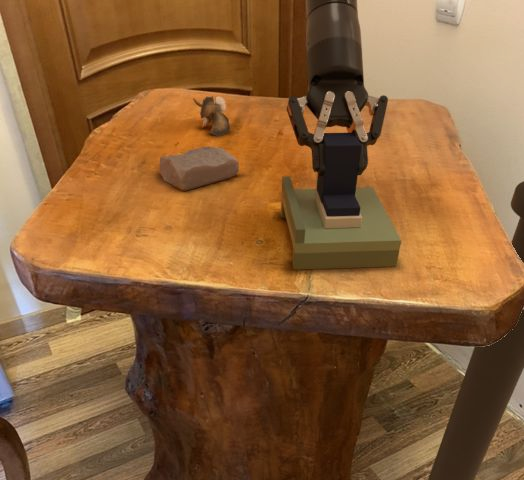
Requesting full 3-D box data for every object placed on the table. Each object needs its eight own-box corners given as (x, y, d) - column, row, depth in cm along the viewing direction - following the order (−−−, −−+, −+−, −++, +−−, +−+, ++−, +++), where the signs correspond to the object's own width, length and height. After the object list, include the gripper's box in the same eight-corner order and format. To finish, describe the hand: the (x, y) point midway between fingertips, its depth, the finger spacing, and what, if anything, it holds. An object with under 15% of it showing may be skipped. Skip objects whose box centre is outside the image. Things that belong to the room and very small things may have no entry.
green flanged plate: (369, 211, 87) (375, 174, 83) (396, 266, 75) (404, 226, 71) (280, 213, 86) (282, 176, 82) (293, 269, 74) (296, 229, 70)
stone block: (155, 183, 97) (183, 193, 90) (151, 155, 95) (178, 162, 88) (213, 170, 103) (243, 178, 96) (210, 143, 100) (240, 149, 93)
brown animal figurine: (184, 117, 115) (192, 123, 107) (199, 84, 113) (209, 87, 105) (215, 135, 118) (226, 142, 111) (231, 103, 116) (242, 108, 109)
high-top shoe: (314, 198, 81) (319, 132, 75) (347, 197, 81) (356, 132, 75) (324, 228, 74) (331, 159, 68) (361, 227, 75) (371, 158, 68)
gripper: (284, 34, 71) (291, 163, 70) (393, 34, 72) (401, 161, 71) (279, 67, 79) (284, 185, 78) (377, 67, 80) (384, 183, 79)
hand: (340, 173), depth 74 cm, fingers closed on high-top shoe, 4 cm apart
